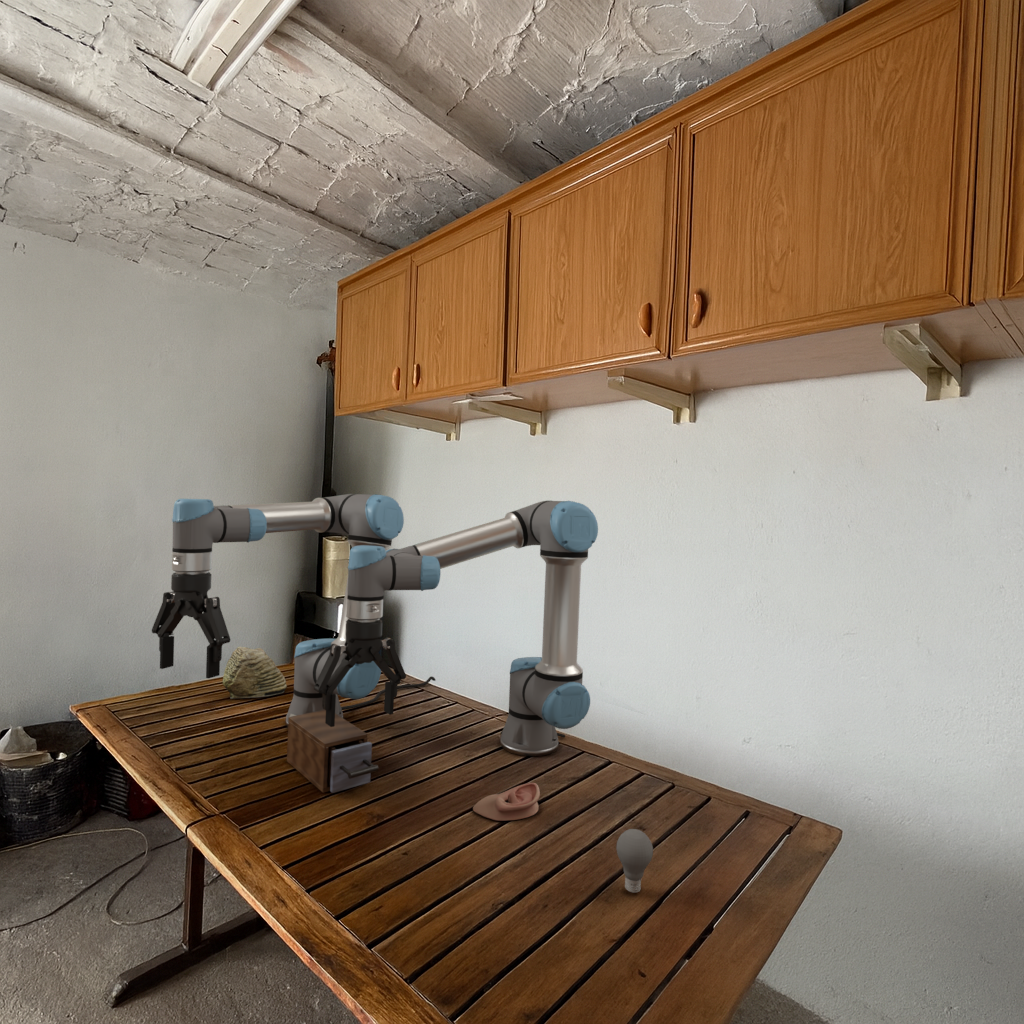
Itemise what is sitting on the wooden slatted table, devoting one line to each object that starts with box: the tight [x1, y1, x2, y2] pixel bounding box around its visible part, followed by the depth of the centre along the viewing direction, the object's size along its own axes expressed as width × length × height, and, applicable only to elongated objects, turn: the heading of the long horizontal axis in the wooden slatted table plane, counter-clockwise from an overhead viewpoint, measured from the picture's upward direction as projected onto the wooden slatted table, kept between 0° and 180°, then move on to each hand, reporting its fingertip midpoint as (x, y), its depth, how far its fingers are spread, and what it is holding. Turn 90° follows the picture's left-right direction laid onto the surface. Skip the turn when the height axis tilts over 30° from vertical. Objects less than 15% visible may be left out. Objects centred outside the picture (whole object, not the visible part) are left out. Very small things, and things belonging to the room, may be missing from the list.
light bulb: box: [615, 828, 654, 894], centre depth 106 cm, size 6×6×10 cm
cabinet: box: [286, 710, 368, 793], centre depth 146 cm, size 20×10×11 cm, turn 41°
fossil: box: [222, 646, 288, 699], centre depth 198 cm, size 9×18×15 cm, turn 132°
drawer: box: [327, 740, 379, 794], centre depth 141 cm, size 24×9×9 cm, turn 41°
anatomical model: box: [472, 782, 541, 822], centre depth 132 cm, size 13×4×12 cm
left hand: (189, 672), depth 134 cm, fingers open, 13 cm apart
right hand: (360, 718), depth 134 cm, fingers open, 13 cm apart
